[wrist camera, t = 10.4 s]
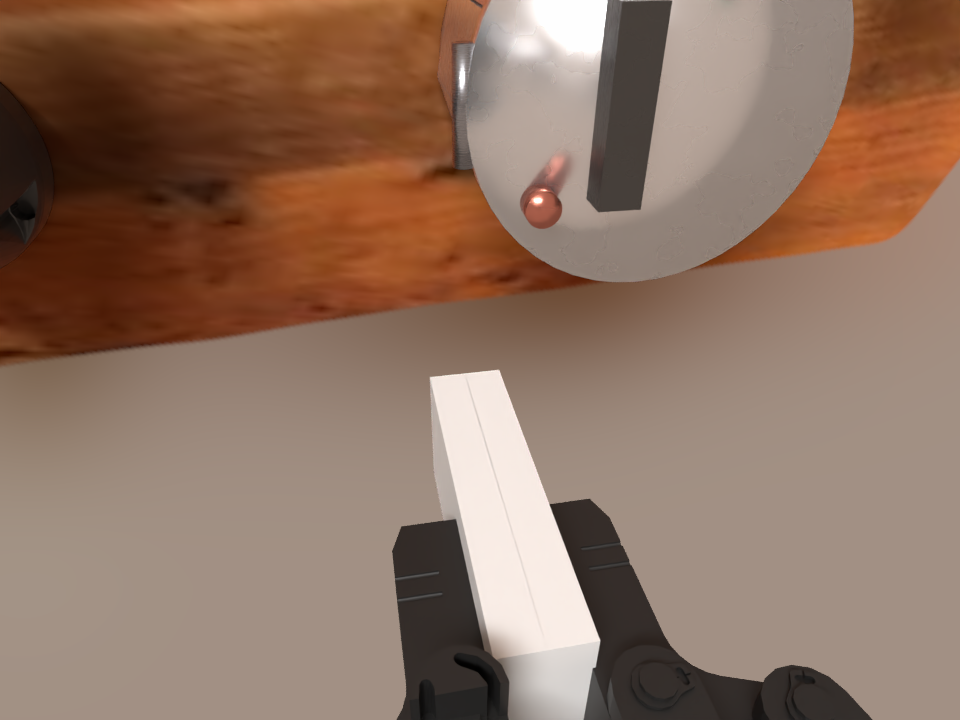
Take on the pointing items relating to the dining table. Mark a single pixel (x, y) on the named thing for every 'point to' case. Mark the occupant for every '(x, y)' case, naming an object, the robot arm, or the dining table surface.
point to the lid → (644, 122)
